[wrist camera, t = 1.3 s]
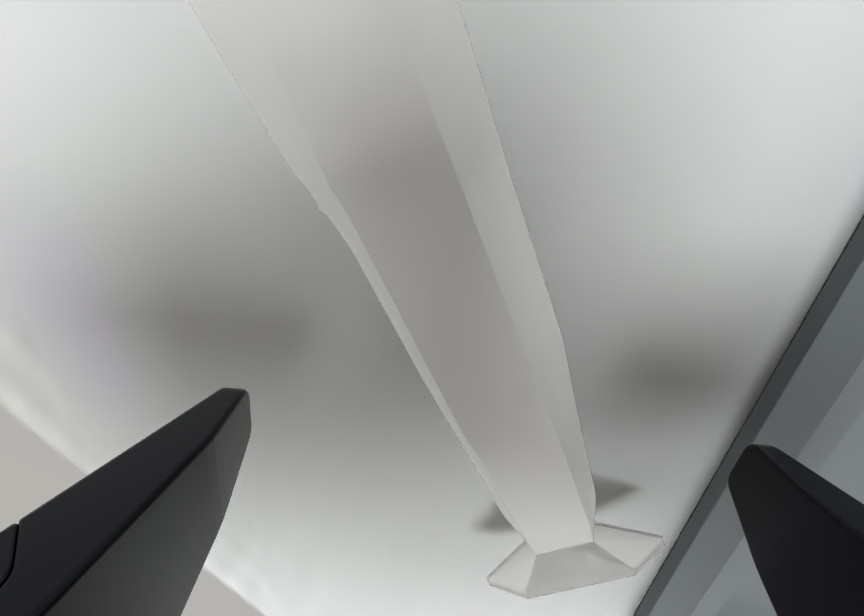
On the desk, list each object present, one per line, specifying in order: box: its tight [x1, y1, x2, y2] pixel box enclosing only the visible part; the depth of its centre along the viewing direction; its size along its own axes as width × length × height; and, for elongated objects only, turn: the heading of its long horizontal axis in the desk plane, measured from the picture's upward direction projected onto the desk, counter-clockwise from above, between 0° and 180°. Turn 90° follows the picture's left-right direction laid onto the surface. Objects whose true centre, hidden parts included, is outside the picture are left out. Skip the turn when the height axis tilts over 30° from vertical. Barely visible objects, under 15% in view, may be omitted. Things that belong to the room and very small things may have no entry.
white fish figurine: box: [188, 0, 665, 599], centre depth 11 cm, size 6×18×4 cm, turn 22°
